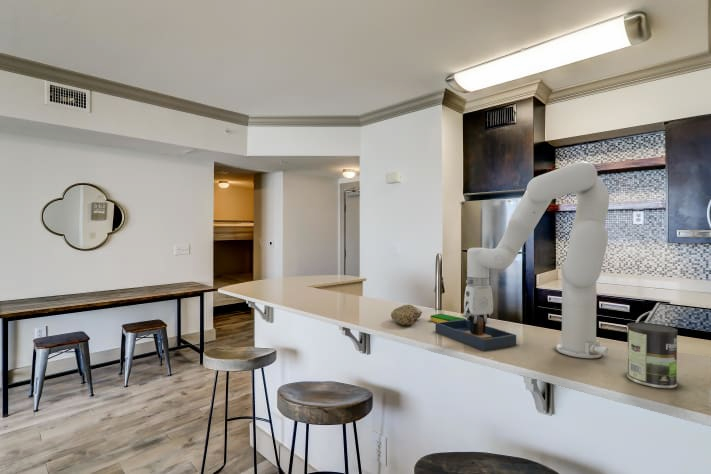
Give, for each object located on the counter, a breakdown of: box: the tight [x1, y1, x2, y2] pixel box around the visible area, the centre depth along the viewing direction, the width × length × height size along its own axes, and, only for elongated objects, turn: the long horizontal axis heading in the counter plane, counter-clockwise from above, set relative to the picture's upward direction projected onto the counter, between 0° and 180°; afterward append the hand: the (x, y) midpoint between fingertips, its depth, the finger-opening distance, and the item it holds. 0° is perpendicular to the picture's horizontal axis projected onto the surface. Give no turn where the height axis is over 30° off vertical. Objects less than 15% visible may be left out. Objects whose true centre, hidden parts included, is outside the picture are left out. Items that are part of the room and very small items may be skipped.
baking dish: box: [435, 318, 517, 352], centre depth 137 cm, size 26×15×4 cm, turn 25°
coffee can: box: [626, 321, 679, 389], centre depth 98 cm, size 10×10×14 cm
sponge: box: [390, 304, 423, 326], centre depth 161 cm, size 13×8×20 cm
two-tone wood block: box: [464, 316, 492, 339], centre depth 135 cm, size 9×5×8 cm, turn 26°
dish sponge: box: [429, 313, 467, 323], centre depth 161 cm, size 7×14×2 cm, turn 38°
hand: (477, 332), depth 135 cm, fingers closed on two-tone wood block, 2 cm apart
